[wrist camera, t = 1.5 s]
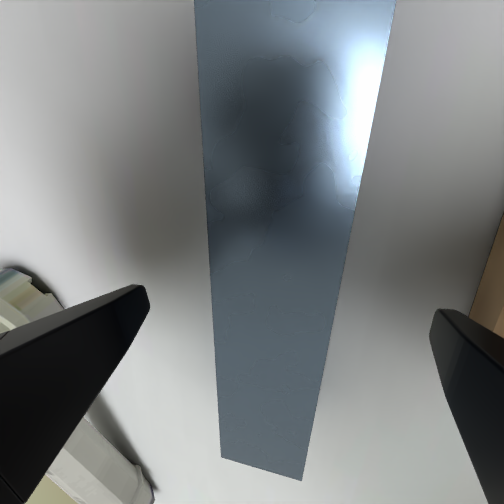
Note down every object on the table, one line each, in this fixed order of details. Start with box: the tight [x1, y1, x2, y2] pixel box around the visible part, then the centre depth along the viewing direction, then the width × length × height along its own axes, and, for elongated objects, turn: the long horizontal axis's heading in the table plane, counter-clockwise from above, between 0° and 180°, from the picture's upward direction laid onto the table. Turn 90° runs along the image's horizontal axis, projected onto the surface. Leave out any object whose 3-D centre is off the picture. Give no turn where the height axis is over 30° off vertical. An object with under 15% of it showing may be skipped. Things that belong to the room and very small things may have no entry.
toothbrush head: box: [0, 268, 155, 504], centre depth 20 cm, size 5×7×25 cm
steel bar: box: [194, 0, 396, 481], centre depth 10 cm, size 20×4×4 cm, turn 179°
